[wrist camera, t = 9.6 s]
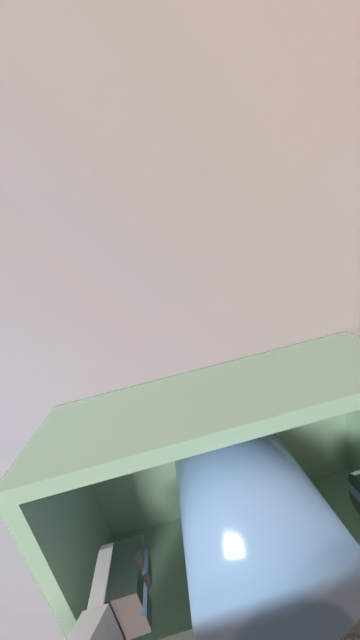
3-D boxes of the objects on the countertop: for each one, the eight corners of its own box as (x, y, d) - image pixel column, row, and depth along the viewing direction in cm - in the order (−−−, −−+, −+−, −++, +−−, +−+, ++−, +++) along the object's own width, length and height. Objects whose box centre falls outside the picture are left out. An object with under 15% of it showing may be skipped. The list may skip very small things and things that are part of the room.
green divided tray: (345, 331, 12) (453, 367, 8) (362, 613, 17) (433, 731, 13) (53, 407, 11) (-10, 494, 7) (162, 679, 16) (165, 828, 12)
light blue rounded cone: (276, 471, 13) (376, 636, 7) (185, 497, 13) (212, 692, 7) (263, 389, 12) (369, 506, 6) (163, 416, 12) (172, 567, 6)
